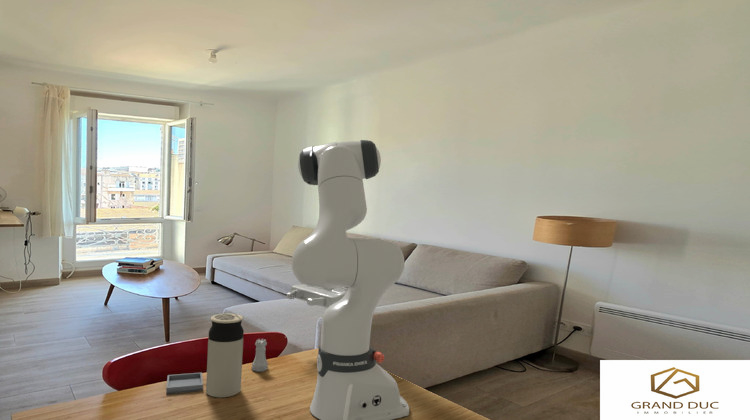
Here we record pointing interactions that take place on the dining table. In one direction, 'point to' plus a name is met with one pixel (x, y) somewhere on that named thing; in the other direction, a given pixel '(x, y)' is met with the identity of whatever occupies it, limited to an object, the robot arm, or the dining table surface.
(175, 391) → the tray
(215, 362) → the travel mug
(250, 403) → the dining table surface
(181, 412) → the dining table surface
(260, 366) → the rook chess piece
